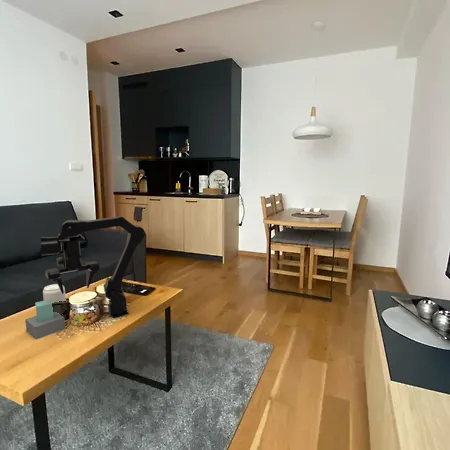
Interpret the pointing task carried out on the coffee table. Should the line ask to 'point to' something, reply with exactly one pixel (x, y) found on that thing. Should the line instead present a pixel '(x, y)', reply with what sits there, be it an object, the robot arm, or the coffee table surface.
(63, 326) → the charcoal box
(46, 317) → the teal block
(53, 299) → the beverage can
